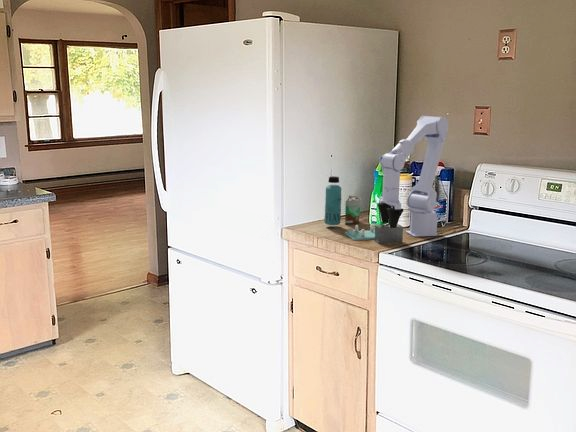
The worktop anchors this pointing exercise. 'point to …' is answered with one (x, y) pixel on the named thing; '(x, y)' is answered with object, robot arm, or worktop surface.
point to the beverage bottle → (333, 202)
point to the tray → (361, 233)
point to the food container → (352, 210)
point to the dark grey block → (388, 234)
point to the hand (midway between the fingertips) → (389, 225)
